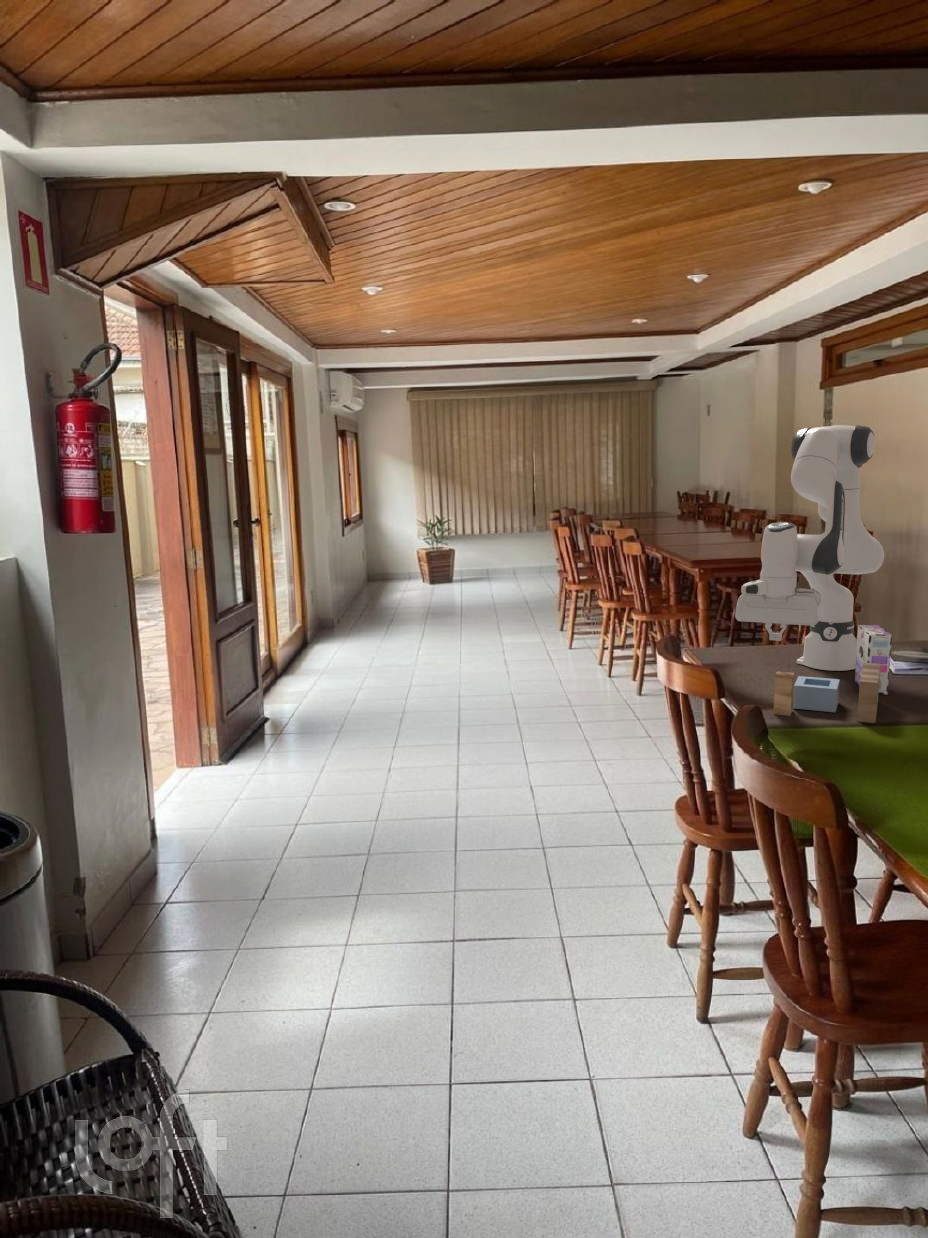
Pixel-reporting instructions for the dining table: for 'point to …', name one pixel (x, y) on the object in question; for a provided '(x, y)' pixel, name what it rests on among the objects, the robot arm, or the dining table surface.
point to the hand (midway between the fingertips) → (775, 640)
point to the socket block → (816, 694)
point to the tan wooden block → (783, 693)
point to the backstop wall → (868, 692)
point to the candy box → (874, 652)
